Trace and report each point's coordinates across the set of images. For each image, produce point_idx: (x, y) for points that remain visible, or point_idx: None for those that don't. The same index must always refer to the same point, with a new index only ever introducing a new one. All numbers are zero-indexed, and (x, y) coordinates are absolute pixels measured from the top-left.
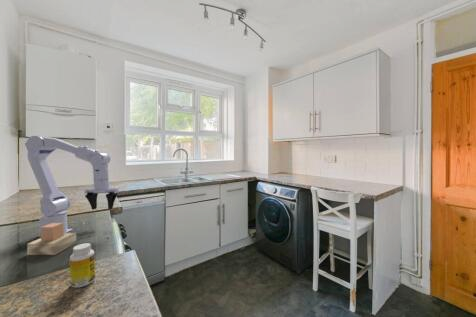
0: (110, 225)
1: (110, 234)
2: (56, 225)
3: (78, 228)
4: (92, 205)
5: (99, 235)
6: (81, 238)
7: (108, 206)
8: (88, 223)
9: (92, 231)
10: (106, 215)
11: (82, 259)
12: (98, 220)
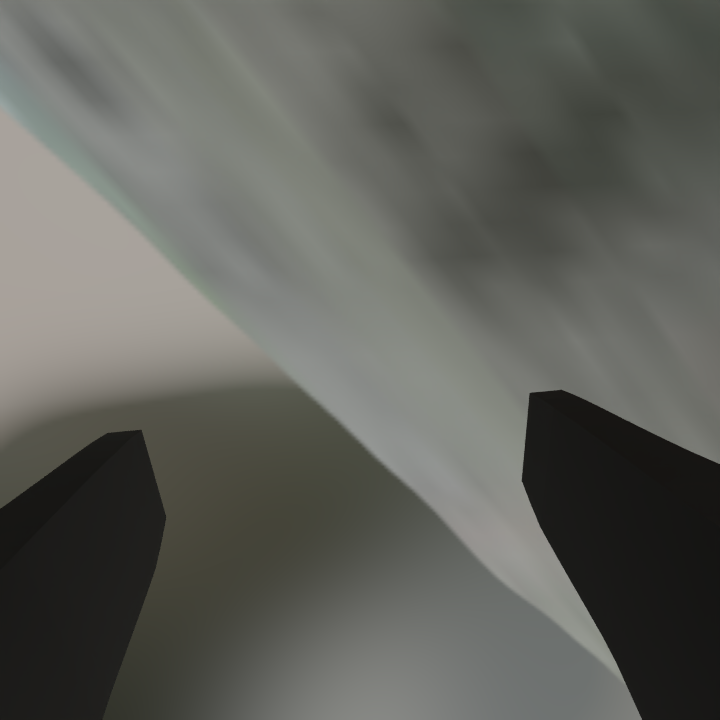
0: (387, 460)
1: (151, 199)
2: None
3: (701, 354)
4: (588, 435)
5: (275, 157)
6: (446, 37)
7: (92, 464)
8: None
9: (470, 280)
10: None
11: None
12: None
